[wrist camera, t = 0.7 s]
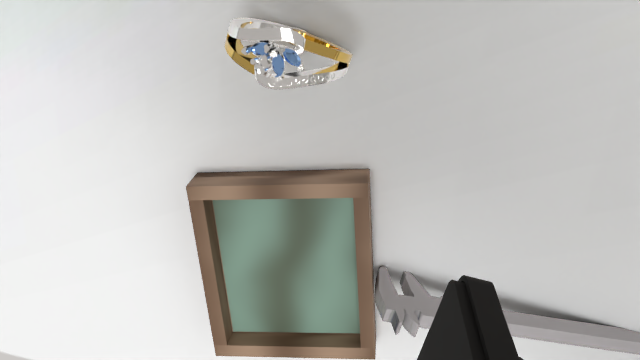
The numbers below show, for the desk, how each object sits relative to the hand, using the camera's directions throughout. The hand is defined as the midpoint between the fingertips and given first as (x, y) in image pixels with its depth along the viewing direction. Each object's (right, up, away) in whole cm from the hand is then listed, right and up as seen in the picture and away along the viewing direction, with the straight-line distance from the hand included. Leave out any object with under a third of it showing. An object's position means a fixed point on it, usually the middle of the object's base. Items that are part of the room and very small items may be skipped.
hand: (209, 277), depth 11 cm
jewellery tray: (0, -4, +30) cm, 31 cm away
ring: (+1, +11, +24) cm, 27 cm away
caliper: (+16, -7, +30) cm, 35 cm away
